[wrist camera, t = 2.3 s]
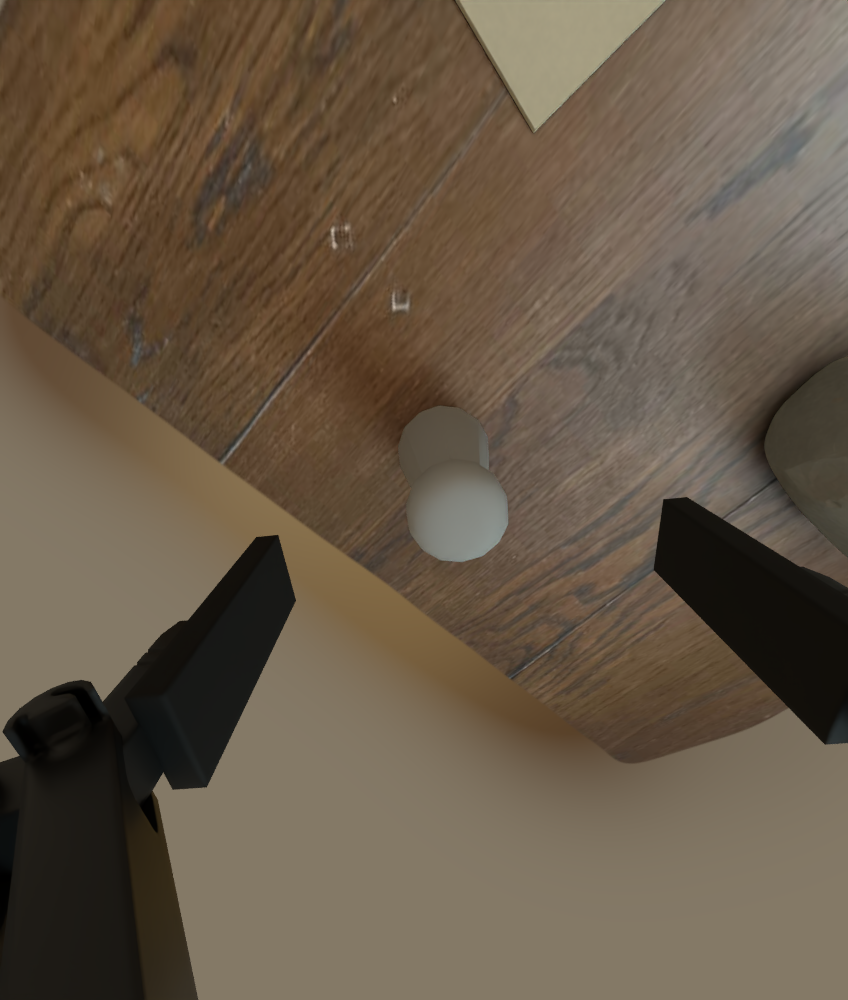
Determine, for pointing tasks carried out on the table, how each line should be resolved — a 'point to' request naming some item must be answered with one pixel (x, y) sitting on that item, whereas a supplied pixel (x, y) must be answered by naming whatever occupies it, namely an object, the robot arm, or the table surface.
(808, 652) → the robot arm
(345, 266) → the table surface
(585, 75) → the placemat
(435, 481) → the salt shaker
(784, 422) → the decorative stone
